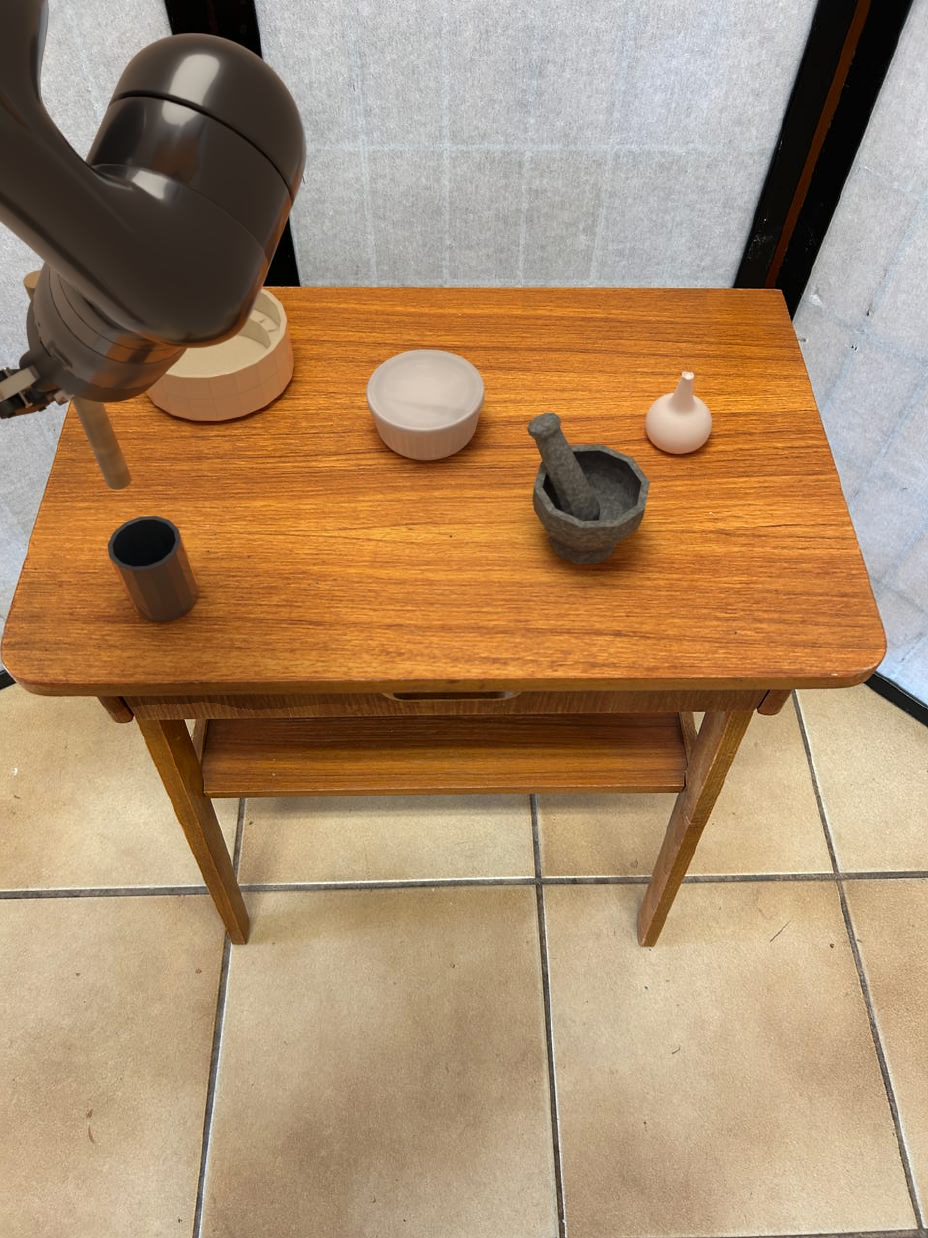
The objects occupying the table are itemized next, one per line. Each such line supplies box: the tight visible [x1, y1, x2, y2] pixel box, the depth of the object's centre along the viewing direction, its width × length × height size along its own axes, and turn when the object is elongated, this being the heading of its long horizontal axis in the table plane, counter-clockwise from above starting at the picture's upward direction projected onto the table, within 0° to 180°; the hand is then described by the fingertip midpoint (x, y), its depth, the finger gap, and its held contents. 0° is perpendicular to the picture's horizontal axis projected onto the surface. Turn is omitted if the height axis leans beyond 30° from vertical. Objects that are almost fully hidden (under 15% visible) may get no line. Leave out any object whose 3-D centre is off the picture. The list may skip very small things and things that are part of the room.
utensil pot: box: [107, 515, 200, 623], centre depth 78 cm, size 6×6×7 cm
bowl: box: [144, 287, 295, 422], centre depth 95 cm, size 15×15×6 cm
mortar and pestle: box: [526, 412, 651, 565], centre depth 81 cm, size 11×9×12 cm
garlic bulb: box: [644, 371, 713, 455], centre depth 90 cm, size 6×6×8 cm
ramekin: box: [365, 349, 486, 461], centre depth 91 cm, size 11×11×5 cm
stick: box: [22, 269, 132, 491], centre depth 63 cm, size 2×2×17 cm
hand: (69, 382), depth 64 cm, fingers closed on stick, 2 cm apart
